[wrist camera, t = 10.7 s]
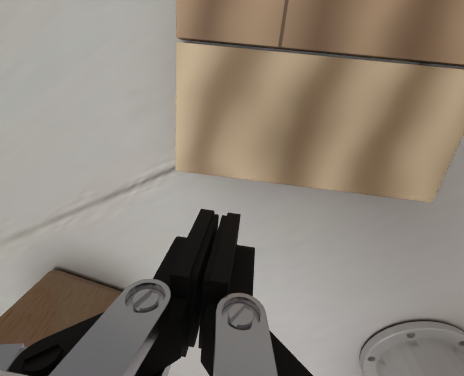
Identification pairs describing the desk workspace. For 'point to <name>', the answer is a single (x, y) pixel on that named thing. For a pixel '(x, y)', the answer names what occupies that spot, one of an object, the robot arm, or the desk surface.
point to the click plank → (317, 120)
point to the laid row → (332, 27)
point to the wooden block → (54, 307)
